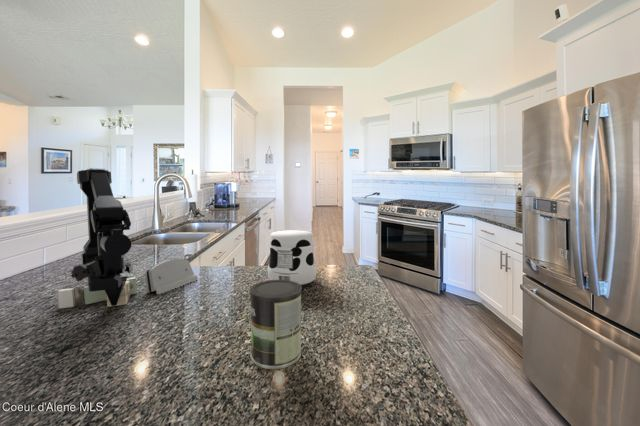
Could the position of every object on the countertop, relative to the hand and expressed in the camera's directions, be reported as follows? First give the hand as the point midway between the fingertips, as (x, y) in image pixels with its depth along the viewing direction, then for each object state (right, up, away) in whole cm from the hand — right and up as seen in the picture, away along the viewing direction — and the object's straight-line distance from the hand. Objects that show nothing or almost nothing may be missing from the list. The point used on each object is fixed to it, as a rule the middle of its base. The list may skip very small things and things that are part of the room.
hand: (114, 305), depth 82 cm
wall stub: (-15, -1, +2) cm, 15 cm away
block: (-2, -1, +5) cm, 6 cm away
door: (-6, 0, +8) cm, 10 cm away
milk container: (+48, +1, +23) cm, 53 cm away
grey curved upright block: (+6, 0, +20) cm, 21 cm away
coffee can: (+49, -3, -22) cm, 54 cm away
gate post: (-12, -1, +3) cm, 12 cm away
